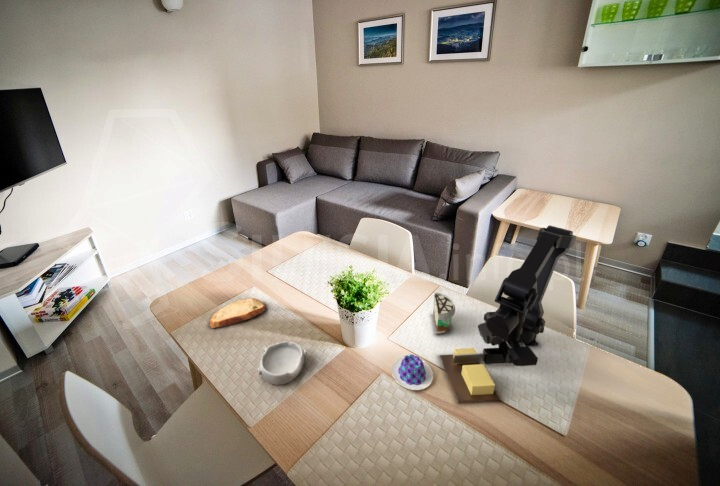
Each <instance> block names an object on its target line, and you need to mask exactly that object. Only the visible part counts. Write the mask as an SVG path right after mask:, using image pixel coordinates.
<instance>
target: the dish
mask: <svg viewBox="0 0 720 486" xmlns="http://www.w3.org/2000/svg"><path fill="white" fill-rule="evenodd" d="M307 357H308V351H307V349H306V348H305V349H303V348H302V347H301V345H299V344H298V343H297V342H294V341H288V340H283V341H279V342H277V343H274V344H271V345H269V346H266V347H265V348H264V349H263V354H262V355H261V358H260V361H259V362H260V363H259V366H257V373H258V376H260V375H261V376H262V378H263V380H264V381H265V382H267V383H269V384H272V385H284V384H287V383H289V382H292V381H293V380H294V379H295V378H296V377H298V375H299V374H300V373H301V372H302V370H303V368H304V365H305V364H304V363H305V358H307Z"/></svg>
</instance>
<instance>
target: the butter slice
mask: <svg viewBox="0 0 720 486" xmlns="http://www.w3.org/2000/svg"><path fill="white" fill-rule="evenodd" d="M477 353H478V352H477V351H476V349H475V347H467V348H454V350H453V355H460V354H477ZM453 358H454V356H453ZM470 363H476V362H470ZM456 364H461V363H456Z"/></svg>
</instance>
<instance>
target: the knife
mask: <svg viewBox="0 0 720 486" xmlns="http://www.w3.org/2000/svg"><path fill="white" fill-rule="evenodd" d="M453 355H454V354H453ZM470 362H480V363H483V364H484V365H499V364H500V365H501V364H513V363H512V362H511V360H510V361H508V362H505V361H504V351H503V349H502V348H501V347H500V348H499V347H484V348H483V349H482V352H480V353H479V352H477V354H460V355H454V362H453V363H470Z"/></svg>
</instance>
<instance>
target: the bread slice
mask: <svg viewBox="0 0 720 486" xmlns="http://www.w3.org/2000/svg"><path fill="white" fill-rule="evenodd" d="M266 309H267V305H266V304H265V303H263V302H262V301H261V300H259V299H257V298H254V297H248V298H242V299H239V300H235V301H233V302H231V303H229V304H228V305H226V306H223V307H222V308H220V309H218V310H217V311H216V312H215V313H213V314H212V316H211V318H210V319H209V327H210V328H211V329H216V328H223V327H227V326H231V325H234V324H238V323H240V322H245V321H246V320H247V321H248V320H250V319H252V318H254V317H256V316H259V315H260V314H262V313H264V312H265V310H266Z"/></svg>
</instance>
